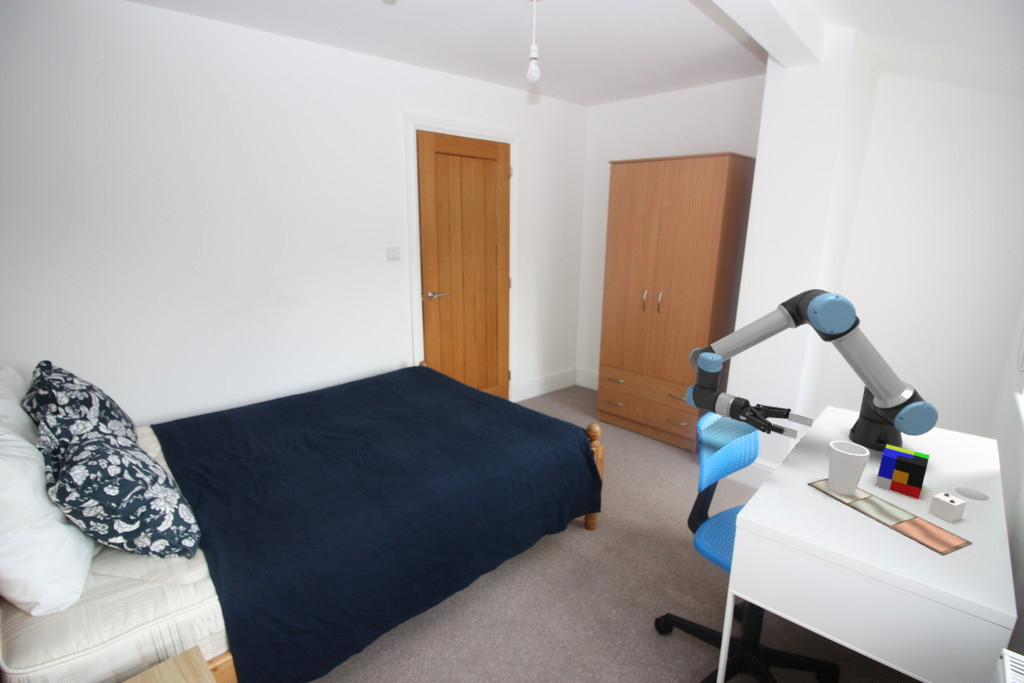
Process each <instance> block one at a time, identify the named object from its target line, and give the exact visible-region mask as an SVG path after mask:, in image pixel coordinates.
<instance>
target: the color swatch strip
mask: <svg viewBox="0 0 1024 683" xmlns="http://www.w3.org/2000/svg"><path fill="white" fill-rule="evenodd" d="M807 484H808V486H809V485H810V487H811V486H812V487H811V488H813V487H814V488H813V489H815V488H816V489H815V490H817V489H818V490H817V491H819V490H820V491H819V492H821V491H822V492H821V493H823V492H824V493H823V494H825V493H826V494H825V495H826V496H828V495H829V497H830V496H831V497H830V498H832V497H833V499H834V500H836V501H838V502H840V503H841V504H844V505H846V506H847V507H850V508H852V509H853V510H856V511H857V512H859V513H861V514H863V515H865V516H867V517H869V518H871V519H873V520H875V521H877V522H878V523H880V524H883V525H884V526H886V527H888V528H890V529H892V530H893V531H895V532H897V533H899V534H902V535H903V536H904V537H908V538H909V539H911V540H913V541H915V542H917V543H918V544H920V545H922V546H924V547H926V548H928V549H930V550H932V551H934V552H936V553H938V554H940V555H941V556H945V555H948V554H951V553H952V552H955V551H957V550H959V549H962V547H963V548H965V547H967V546H969V544H970V545H972V544H973V542H972V541H969V540H967V539H966V538H963V537H961V536H959V535H957V534H955V533H953V532H951V531H949V530H946V529H945V528H943V527H940V526H938V525H936V524H935V523H932V522H930V521H928V520H926V519H925V518H924V519H923V518H922V517H920V516H917V515H915V514H914V513H911V512H909V511H907V510H906V509H903V508H901V507H899V506H897V505H895V504H893V503H890V502H888V501H887V500H884V499H882V498H880V497H878V496H876V495H874V494H872V493H870V492H868V491H866V490H864V489H862V488H859V487H858V486H857V488H856V491H855V492H854V494H853V495H848V496H847V495H841V494H838V493H835V492H833V491H832V490H830V489H829V488H828V477H827V478H824V479H819V480H816V481H813V482H808V483H807ZM971 543H972V544H971Z"/></svg>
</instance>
